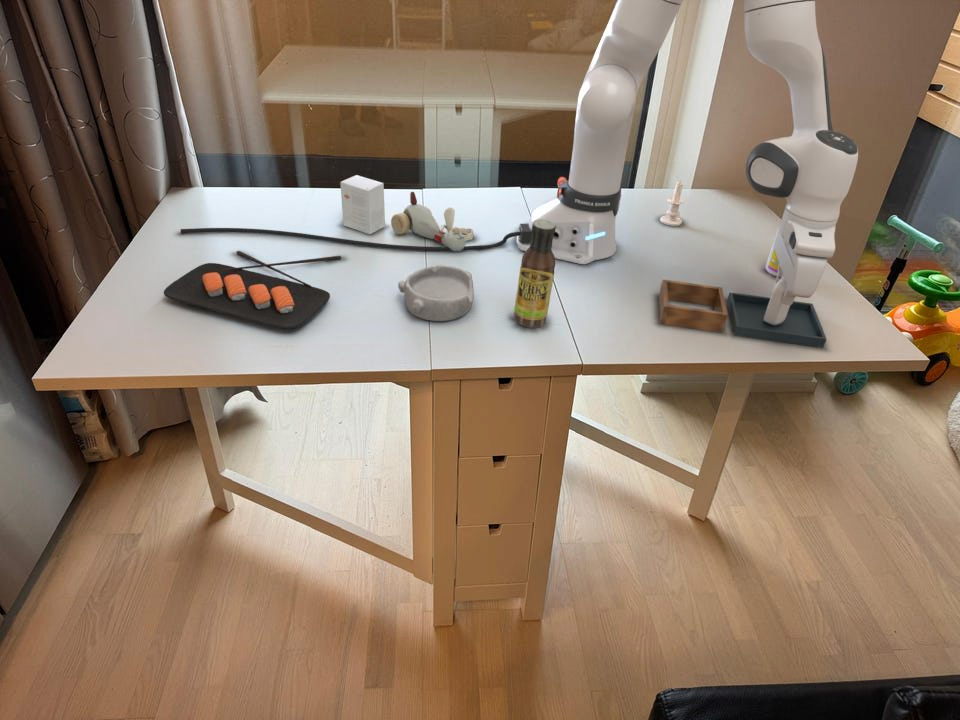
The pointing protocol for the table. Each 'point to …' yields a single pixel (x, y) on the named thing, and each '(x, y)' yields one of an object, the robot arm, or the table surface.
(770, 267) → the supplement bottle
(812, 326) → the tray
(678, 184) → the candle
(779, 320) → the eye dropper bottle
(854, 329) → the table surface
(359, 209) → the small box
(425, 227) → the toy dog
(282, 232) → the robot arm
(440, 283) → the dish
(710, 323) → the crate
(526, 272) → the sauce bottle
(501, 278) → the table surface
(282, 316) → the sushi plate
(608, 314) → the table surface
